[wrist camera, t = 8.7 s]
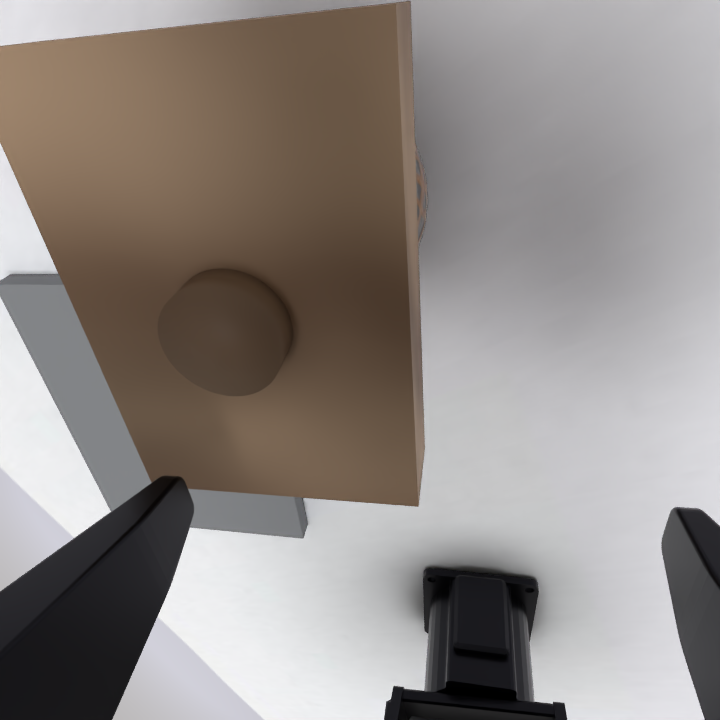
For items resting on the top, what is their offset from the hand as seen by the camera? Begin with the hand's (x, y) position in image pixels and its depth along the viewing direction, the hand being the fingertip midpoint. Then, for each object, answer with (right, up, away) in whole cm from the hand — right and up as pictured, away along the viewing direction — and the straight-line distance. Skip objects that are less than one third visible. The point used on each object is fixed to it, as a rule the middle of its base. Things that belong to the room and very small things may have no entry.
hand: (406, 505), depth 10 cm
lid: (-3, +5, +2) cm, 6 cm away
